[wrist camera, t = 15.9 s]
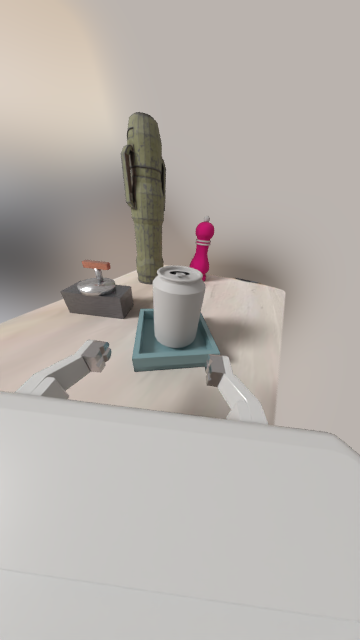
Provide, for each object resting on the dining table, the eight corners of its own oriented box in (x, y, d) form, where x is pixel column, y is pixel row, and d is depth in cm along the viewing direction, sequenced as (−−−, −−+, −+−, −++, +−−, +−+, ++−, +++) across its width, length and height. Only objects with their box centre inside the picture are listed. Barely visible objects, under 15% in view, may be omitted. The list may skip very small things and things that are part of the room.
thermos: (129, 280, 48) (104, 107, 27) (153, 273, 56) (148, 135, 35) (147, 287, 44) (135, 93, 23) (170, 278, 52) (176, 128, 32)
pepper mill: (208, 278, 56) (220, 217, 45) (204, 284, 51) (217, 216, 39) (191, 274, 58) (199, 215, 46) (185, 280, 53) (192, 214, 41)
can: (192, 324, 29) (202, 265, 22) (197, 352, 23) (214, 282, 16) (156, 323, 28) (155, 261, 21) (152, 351, 22) (148, 278, 15)
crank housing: (122, 320, 30) (113, 272, 24) (68, 313, 30) (45, 265, 24) (134, 304, 35) (128, 262, 29) (88, 298, 36) (73, 256, 30)
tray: (215, 365, 22) (220, 353, 21) (134, 371, 20) (132, 358, 19) (197, 319, 32) (199, 308, 31) (141, 320, 30) (140, 308, 28)
